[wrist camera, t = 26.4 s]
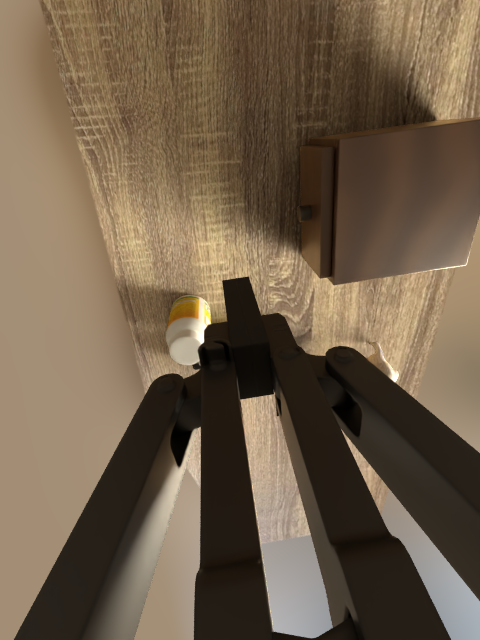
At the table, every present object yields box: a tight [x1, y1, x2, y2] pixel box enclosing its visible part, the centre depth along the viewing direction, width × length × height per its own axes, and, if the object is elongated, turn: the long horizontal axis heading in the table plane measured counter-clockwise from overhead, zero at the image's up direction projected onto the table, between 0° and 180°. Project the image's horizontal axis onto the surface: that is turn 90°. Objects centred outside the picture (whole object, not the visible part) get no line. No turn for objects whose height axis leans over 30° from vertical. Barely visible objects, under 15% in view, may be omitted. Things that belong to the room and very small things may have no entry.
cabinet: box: [309, 117, 480, 285], centre depth 34 cm, size 15×14×9 cm
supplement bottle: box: [166, 295, 211, 365], centre depth 39 cm, size 5×5×10 cm
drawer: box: [297, 145, 336, 278], centre depth 34 cm, size 15×12×7 cm
